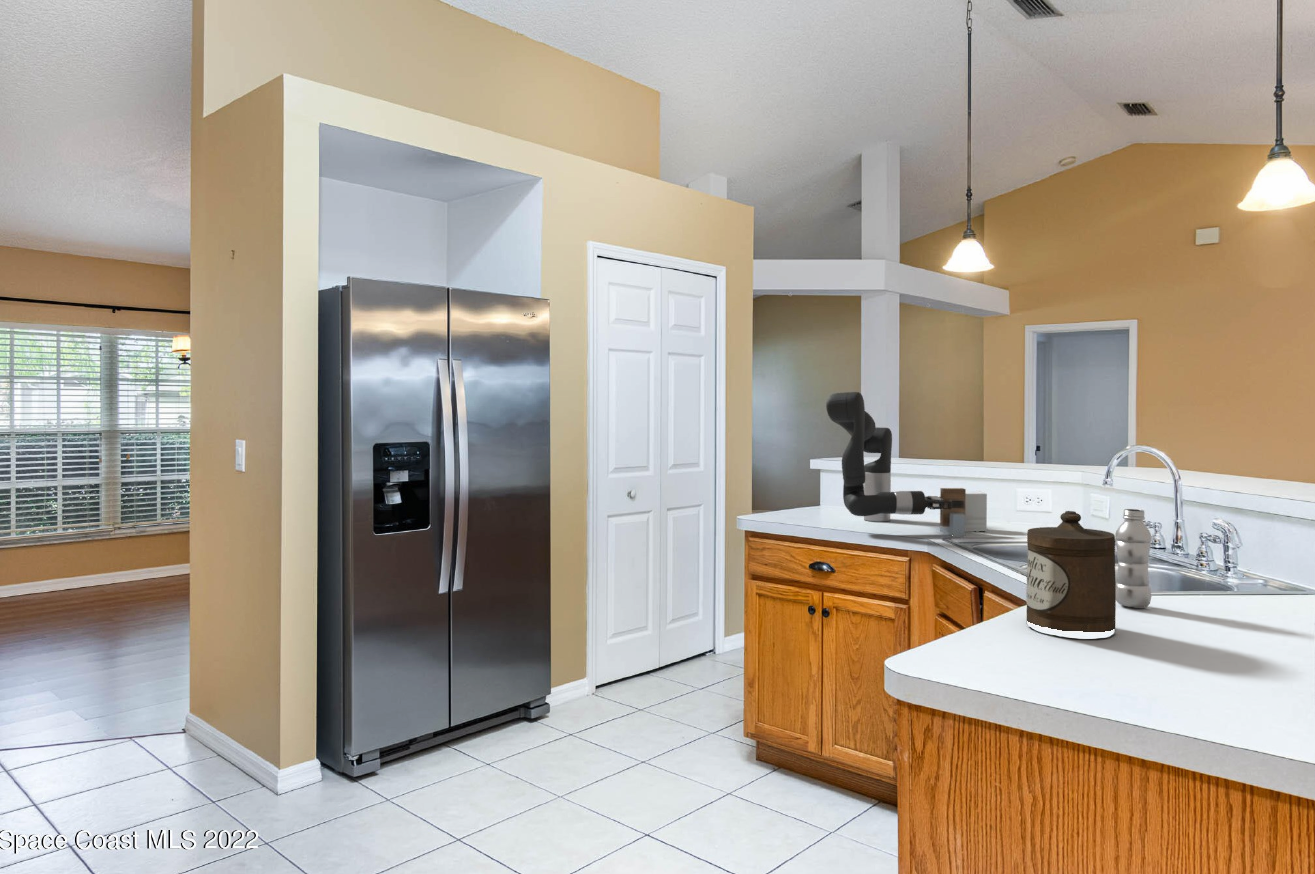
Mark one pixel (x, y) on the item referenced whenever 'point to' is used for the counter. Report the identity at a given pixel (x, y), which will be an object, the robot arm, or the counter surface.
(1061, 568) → the wooden container
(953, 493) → the walnut plate
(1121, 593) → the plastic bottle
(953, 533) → the slotted base
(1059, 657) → the counter surface
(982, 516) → the supplement box
